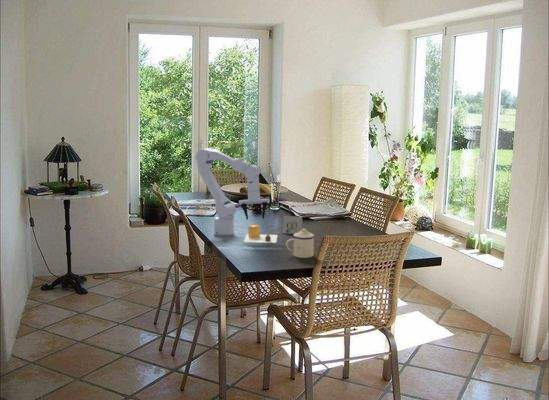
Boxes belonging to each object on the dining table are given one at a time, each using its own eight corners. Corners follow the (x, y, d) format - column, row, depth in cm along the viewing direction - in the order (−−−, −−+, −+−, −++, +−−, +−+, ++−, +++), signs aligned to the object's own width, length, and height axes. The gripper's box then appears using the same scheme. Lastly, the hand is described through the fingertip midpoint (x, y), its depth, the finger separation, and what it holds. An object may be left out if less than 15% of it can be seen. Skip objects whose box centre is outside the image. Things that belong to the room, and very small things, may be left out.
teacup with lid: (312, 252, 261) (312, 226, 259) (315, 258, 252) (316, 231, 251) (284, 253, 260) (285, 226, 258) (287, 258, 251) (287, 231, 249)
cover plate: (243, 244, 275) (243, 235, 275) (246, 236, 291) (246, 228, 290) (276, 244, 275) (276, 236, 274) (277, 236, 290) (277, 228, 290)
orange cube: (248, 237, 284) (248, 227, 283) (249, 234, 289) (249, 224, 288) (259, 237, 284) (259, 227, 283) (260, 235, 289) (260, 225, 288)
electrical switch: (282, 235, 294) (282, 216, 293) (284, 233, 299) (284, 215, 299) (301, 236, 292) (301, 217, 292) (302, 235, 297) (303, 216, 297)
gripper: (237, 192, 279) (239, 221, 281) (268, 190, 279) (270, 219, 281) (238, 190, 286) (240, 218, 288) (268, 188, 286) (270, 216, 288)
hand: (255, 218), depth 285 cm, fingers open, 7 cm apart
